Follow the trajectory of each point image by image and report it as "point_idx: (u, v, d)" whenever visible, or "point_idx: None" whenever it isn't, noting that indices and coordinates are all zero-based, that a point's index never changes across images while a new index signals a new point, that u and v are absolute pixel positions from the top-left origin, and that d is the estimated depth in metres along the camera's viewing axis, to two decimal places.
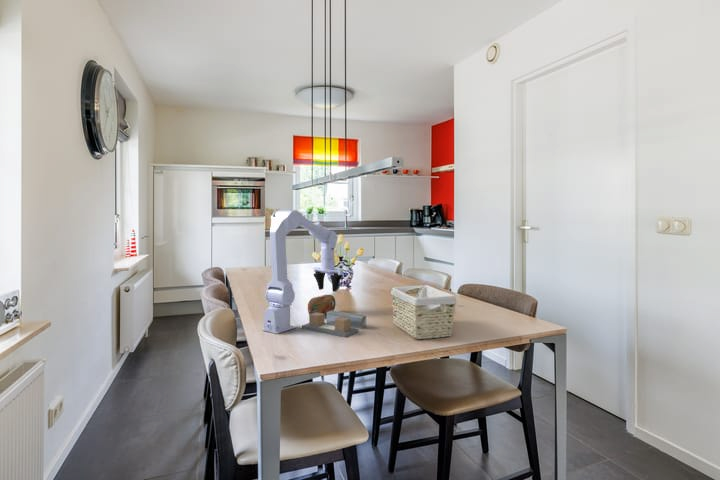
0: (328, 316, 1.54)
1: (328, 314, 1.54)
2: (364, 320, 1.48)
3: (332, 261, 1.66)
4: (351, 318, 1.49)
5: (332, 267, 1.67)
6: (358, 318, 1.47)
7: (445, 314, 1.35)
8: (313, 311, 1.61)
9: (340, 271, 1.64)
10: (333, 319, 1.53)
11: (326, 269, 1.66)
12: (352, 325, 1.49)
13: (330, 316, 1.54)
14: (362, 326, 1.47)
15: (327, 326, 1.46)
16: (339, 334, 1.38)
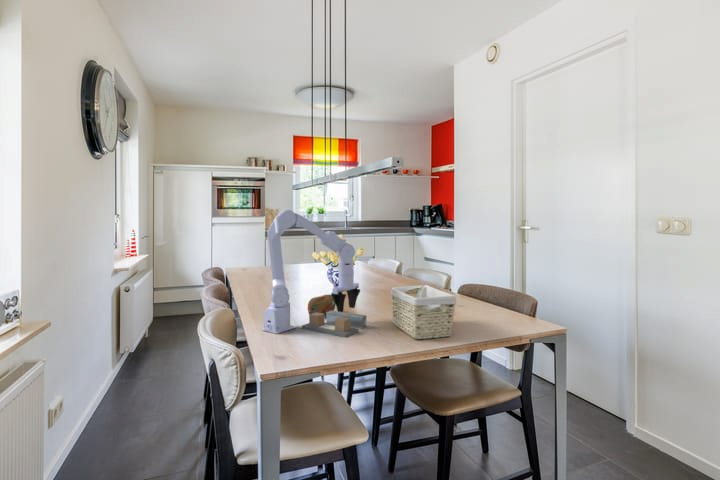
0: (328, 316, 1.54)
1: (328, 314, 1.54)
2: (364, 320, 1.48)
3: (341, 278, 1.49)
4: (351, 318, 1.49)
5: (341, 284, 1.49)
6: (359, 318, 1.47)
7: (445, 314, 1.35)
8: (313, 311, 1.61)
9: (333, 289, 1.46)
10: (333, 319, 1.53)
11: None
12: (352, 325, 1.49)
13: (330, 316, 1.54)
14: (362, 326, 1.47)
15: (327, 326, 1.46)
16: (339, 334, 1.38)
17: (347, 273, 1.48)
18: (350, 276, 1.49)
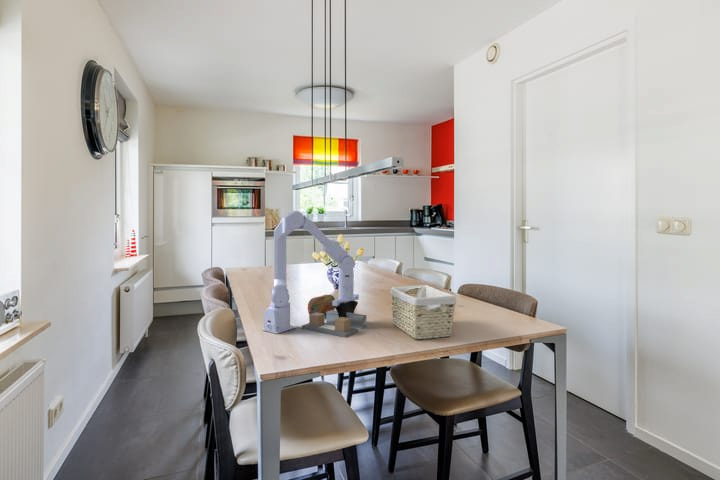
0: (328, 316, 1.54)
1: (328, 314, 1.54)
2: (364, 319, 1.48)
3: (341, 289, 1.49)
4: (351, 318, 1.49)
5: (341, 296, 1.49)
6: (359, 318, 1.47)
7: (445, 314, 1.35)
8: (313, 311, 1.61)
9: (333, 301, 1.46)
10: (333, 319, 1.53)
11: None
12: (352, 325, 1.49)
13: (330, 316, 1.54)
14: (362, 325, 1.47)
15: (327, 326, 1.46)
16: (339, 334, 1.38)
17: (347, 285, 1.49)
18: (350, 288, 1.49)
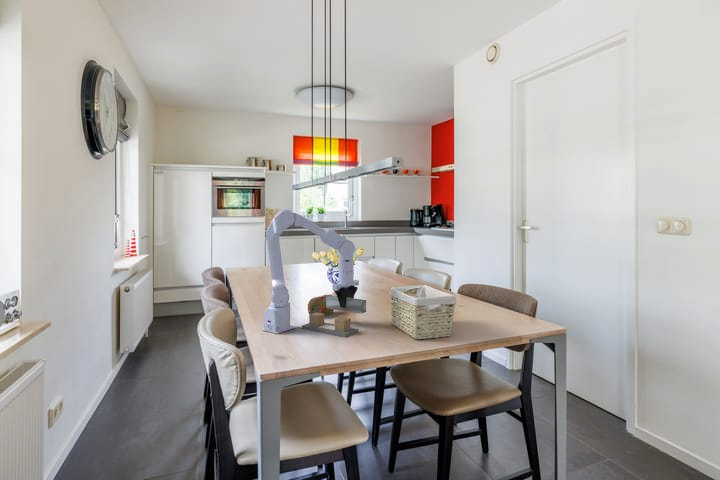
0: (328, 301, 1.54)
1: (328, 299, 1.54)
2: (364, 304, 1.48)
3: (341, 274, 1.49)
4: (351, 303, 1.48)
5: (341, 281, 1.49)
6: (358, 302, 1.47)
7: (445, 314, 1.36)
8: (313, 311, 1.61)
9: (333, 286, 1.46)
10: (333, 304, 1.53)
11: (338, 282, 1.51)
12: (352, 309, 1.48)
13: (330, 301, 1.53)
14: (362, 310, 1.47)
15: (327, 326, 1.46)
16: (339, 334, 1.38)
17: (347, 270, 1.48)
18: (350, 273, 1.49)
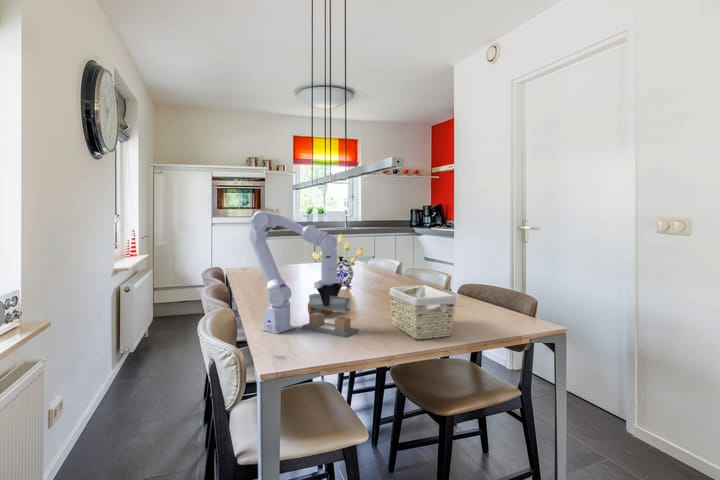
0: (311, 299, 1.47)
1: (311, 297, 1.47)
2: (348, 303, 1.41)
3: (323, 271, 1.42)
4: (334, 301, 1.41)
5: (323, 278, 1.42)
6: (341, 301, 1.40)
7: (445, 314, 1.36)
8: (313, 311, 1.61)
9: (315, 283, 1.39)
10: (316, 302, 1.46)
11: (321, 279, 1.44)
12: (335, 308, 1.41)
13: (313, 299, 1.47)
14: (345, 309, 1.40)
15: (327, 326, 1.46)
16: (339, 334, 1.38)
17: (328, 266, 1.41)
18: (333, 270, 1.42)
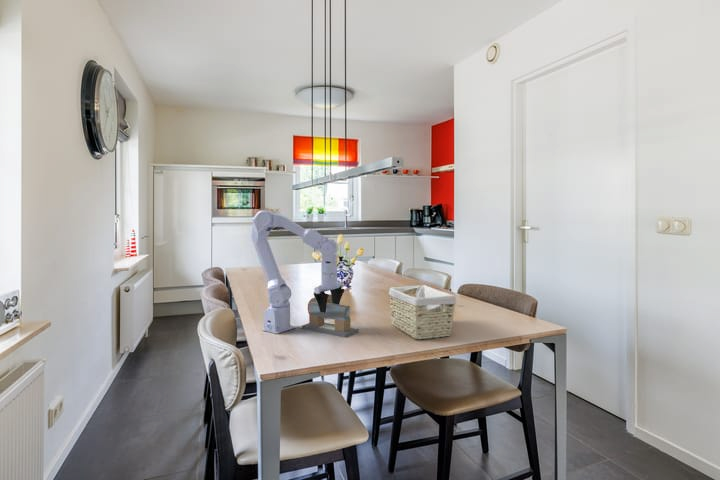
0: (311, 307, 1.47)
1: (311, 304, 1.47)
2: (347, 311, 1.41)
3: (323, 276, 1.42)
4: (333, 309, 1.42)
5: (323, 283, 1.42)
6: (341, 309, 1.40)
7: (445, 314, 1.36)
8: None
9: (315, 289, 1.39)
10: (316, 310, 1.46)
11: (321, 284, 1.45)
12: (335, 316, 1.41)
13: (313, 306, 1.47)
14: (345, 317, 1.40)
15: (327, 326, 1.46)
16: (339, 334, 1.38)
17: (328, 272, 1.41)
18: (333, 275, 1.42)
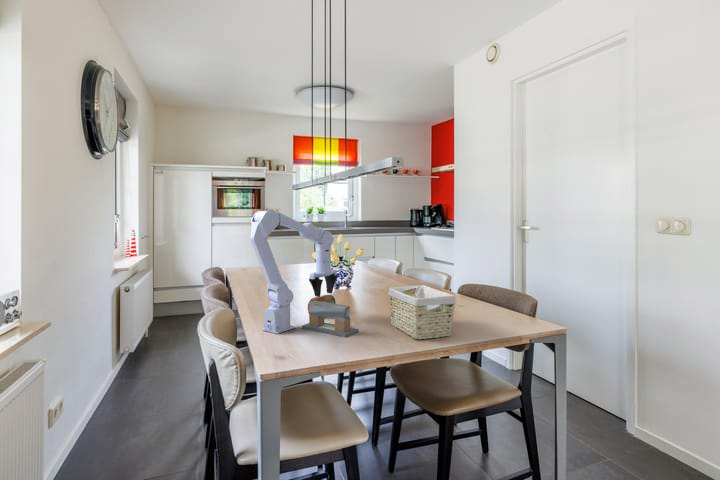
0: (311, 307, 1.47)
1: (311, 304, 1.47)
2: (347, 311, 1.41)
3: (318, 264, 1.55)
4: (333, 309, 1.42)
5: (318, 270, 1.55)
6: (341, 309, 1.40)
7: (445, 314, 1.36)
8: None
9: (310, 275, 1.51)
10: (316, 310, 1.46)
11: None
12: (335, 316, 1.41)
13: (313, 306, 1.47)
14: (345, 317, 1.40)
15: (327, 326, 1.46)
16: (339, 334, 1.38)
17: (327, 259, 1.55)
18: (327, 262, 1.55)
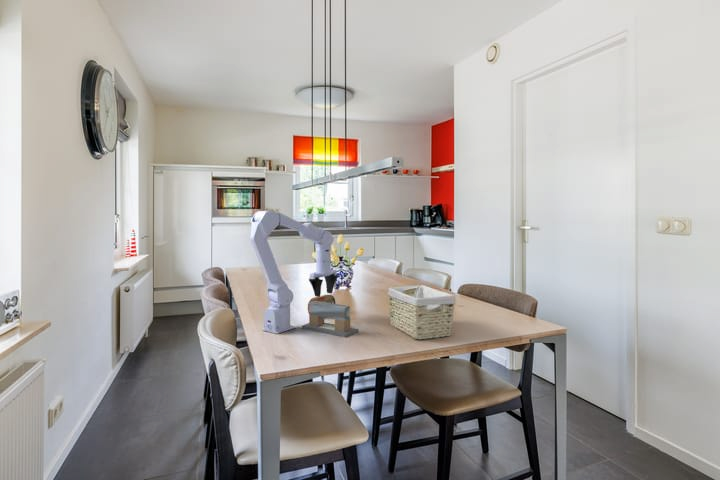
0: (311, 307, 1.47)
1: (311, 304, 1.47)
2: (347, 311, 1.41)
3: (318, 264, 1.55)
4: (333, 309, 1.42)
5: (318, 270, 1.55)
6: (341, 309, 1.40)
7: (445, 314, 1.36)
8: None
9: (310, 275, 1.51)
10: (316, 310, 1.46)
11: None
12: (335, 316, 1.41)
13: (313, 306, 1.47)
14: (345, 317, 1.40)
15: (327, 326, 1.46)
16: (339, 334, 1.38)
17: (327, 259, 1.55)
18: (327, 262, 1.55)
